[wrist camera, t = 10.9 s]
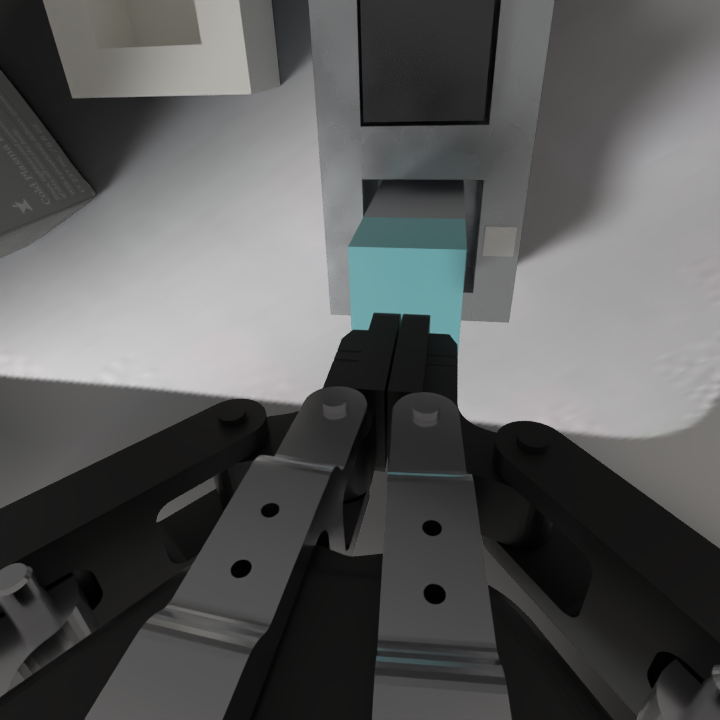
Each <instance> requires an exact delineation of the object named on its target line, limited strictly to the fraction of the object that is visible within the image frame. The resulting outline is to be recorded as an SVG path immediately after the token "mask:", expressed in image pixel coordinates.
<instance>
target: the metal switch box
mask: <svg viewBox="0 0 720 720" xmlns="http://www.w3.org/2000/svg"><path fill="white" fill-rule="evenodd" d="M554 1H555V0H308V2H309V16H310V30H311V44H312V58H313V72H314V86H315V100H316V114H317V128H318V142H319V156H320V170H321V184H322V198H323V211H324V225H325V239H326V253H327V267H328V281H329V295H330V309H331V314H333V315H351V304H350V281H349V259H348V246H349V244H350V242H351V240H352V238H353V236H354V234H355V232H356V230H357V228H358V226H359V225H360V223H361V221H362V219H363V217H364V215H365V213H366V211H367V209H368V207H369V205H370V203H371V202H372V200H373V198H374V196H375V194H376V192H377V190H378V188H379V186H380V184H381V182H382V180H383V179H420V180H464V201H465V222H466V243H467V253H466V265H465V276H464V288H463V299H462V311H461V320H465V321H487V322H509V318H510V311H511V304H512V297H513V290H514V283H515V276H516V269H517V262H518V255H519V248H520V240H521V233H522V226H523V219H524V212H525V205H526V198H527V191H528V184H529V177H530V170H531V163H532V156H533V149H534V142H535V135H536V128H537V120H538V113H539V106H540V99H541V92H542V85H543V78H544V71H545V64H546V57H547V50H548V43H549V36H550V29H551V22H552V15H553V8H554Z"/></svg>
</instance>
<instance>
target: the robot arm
mask: <svg viewBox="0 0 720 720" xmlns="http://www.w3.org/2000/svg"><path fill="white" fill-rule="evenodd" d="M457 357H458V345H457V343H456V342H455V341H454V340H453V338H452V337H451V336H450V334H435V333H430V315H421V314H403V316H402V317H401V314H397V313H375V312H374V313H373V316H372V320H371V323H370V326H369V329H368V330H354V329H353V330H352V331H351V332H350V333H348V334H347V335H346V336H345V337H344V338H342V340H341V343H340V345H339V348H338V352H337V353H336V356H335V358H334V361H333V363H332V366H331V369H330V371H329V374H328V376H327V379H326V381H325V384H324V387H323V388H322V389H320V390H317V391H315V392H313V393H312V394H311V395H309V396H308V397H307V398H306V400H305V401H304V403H303V405H302V407H301V409H300V410H299V411H297V412H294V413H289V414H283V415H276V416H269V417H267V416H266V411H265V409H264V407H263V406H262V405H261V404H259V403H258V402H256V401H253V400H249V399H232V400H227V401H224V402H221V403H219V404H216V405H214V406H212V407H210V408H208V409H206V410H204V411H202V412H200V413H198V414H196V415H193V416H191V417H189V418H187V419H185V420H183V421H181V422H179V423H177V424H175V425H173V426H171V427H169V428H167V429H165V430H163V431H160V432H158V433H156V434H154V435H152V436H150V437H148V438H146V439H144V440H142V441H140V442H138V443H136V444H133V445H131V446H129V447H127V448H125V449H123V450H121V451H119V452H117V453H115V454H113V455H111V456H108V457H107V458H104V459H102V460H100V461H98V462H96V463H94V464H92V465H90V466H88V467H86V468H84V469H82V470H79V471H77V472H75V473H73V474H71V475H69V476H67V477H65V478H63V479H61V480H59V481H57V482H55V483H53V484H50V485H48V486H46V487H44V488H42V489H40V490H38V491H36V492H34V493H32V494H30V495H28V496H26V497H24V498H21V499H19V500H17V501H15V502H13V503H11V504H9V505H7V506H5V507H3V508H1V509H0V720H613V719H612V717H611V716H610V715H609V714H608V712H607V711H606V710H605V709H604V708H603V706H602V705H601V704H600V703H599V701H598V700H597V699H596V698H595V697H594V695H593V694H592V693H591V692H590V691H589V689H588V688H587V687H586V686H585V684H584V683H583V682H582V681H581V680H580V678H579V677H578V676H577V675H576V673H575V672H574V671H573V670H572V669H571V668H570V666H569V665H568V664H567V663H566V661H565V660H564V659H563V658H562V657H561V655H560V654H559V653H558V652H557V650H556V649H555V648H554V647H553V645H552V644H551V643H550V642H549V641H548V639H547V638H546V637H545V636H544V635H543V633H542V632H541V631H540V630H539V629H538V627H537V626H536V625H535V624H534V623H533V621H532V620H531V619H530V618H529V617H528V616H527V615H526V614H525V613H524V612H523V611H522V610H521V609H520V608H519V607H518V606H517V605H516V604H515V603H513V602H512V601H511V600H510V599H508V598H507V597H506V596H505V595H503V594H502V593H500V592H499V591H497V590H496V589H494V588H492V587H491V586H489V585H488V583H487V575H486V568H485V560H484V553H483V545H482V541H483V544H484V546H485V548H486V549H487V550H488V552H489V553H490V554H491V555H492V556H493V557H494V558H495V559H496V561H497V562H498V563H499V564H500V565H501V566H502V567H503V568H504V569H505V571H506V572H507V573H508V574H509V575H510V576H511V577H512V578H513V579H514V580H515V582H516V583H517V584H518V585H519V586H520V587H521V588H522V589H523V590H524V592H525V593H526V594H527V595H528V596H529V597H530V598H531V599H532V600H533V601H534V603H535V604H537V606H538V607H539V608H540V609H541V610H542V611H543V613H544V614H545V615H546V616H547V617H548V618H549V619H550V620H551V621H552V622H553V623H554V625H555V626H556V627H557V628H558V629H559V630H560V631H561V632H562V634H563V635H564V636H565V637H566V638H567V639H568V640H569V641H570V642H571V643H572V645H573V646H574V647H575V648H576V649H577V650H578V651H579V652H580V653H581V655H582V656H584V658H585V659H586V660H587V661H588V662H589V663H590V664H591V665H592V667H593V668H594V669H595V670H596V671H597V672H598V673H599V674H600V676H601V677H602V678H603V679H604V680H605V681H606V682H607V683H608V684H609V685H610V687H611V688H612V689H613V690H614V691H615V692H616V693H617V694H618V695H619V696H620V698H621V699H622V700H623V701H624V702H625V703H626V704H627V705H628V706H629V707H630V709H631V710H632V711H633V712H634V713H635V714H636V715H637V716H638V718H637V720H720V549H719V548H718V547H717V546H715V545H714V544H712V543H711V542H710V541H708V540H707V539H706V538H704V537H703V536H701V535H700V534H699V533H697V532H696V531H695V530H693V529H692V528H690V527H689V526H688V525H686V524H685V523H684V522H682V521H681V520H679V519H678V518H676V517H675V516H674V515H673V514H671V513H670V512H668V511H667V510H666V509H664V508H663V507H662V506H660V505H659V504H657V503H656V502H655V501H653V500H652V499H650V498H649V497H648V496H646V495H645V494H644V493H642V492H641V491H639V490H638V489H637V488H635V487H634V486H633V485H631V484H630V483H628V482H627V481H626V480H624V479H623V478H622V477H620V476H619V475H617V474H616V473H614V472H613V471H612V470H611V469H609V468H608V467H606V466H605V465H604V464H602V463H601V462H600V461H598V460H597V459H595V458H594V457H592V456H591V455H590V454H588V453H587V452H586V451H584V450H583V449H582V448H580V447H579V446H577V445H576V444H575V443H573V442H572V441H571V440H569V439H568V438H566V437H565V436H564V435H562V434H561V433H560V432H558V431H557V430H555V429H553V428H551V427H549V426H547V425H544V424H541V423H537V422H532V421H516V422H512V423H509V424H506V425H504V426H503V427H501V428H500V429H499V430H498V432H497V433H495V432H492V431H489V430H485V429H483V428H480V427H478V426H476V425H474V424H472V423H470V422H469V421H468V420H466V419H465V418H464V417H463V416H462V414H461V413H460V411H459V409H458V404H457V364H458V359H457ZM387 457H388V477H387V493H386V494H387V495H386V510H385V527H384V528H385V529H384V544H383V554H375V555H366V556H354V557H353V553H354V550H355V546H356V543H357V539H358V536H359V532H360V529H361V526H362V523H363V519H364V516H365V512H366V509H367V505H368V502H369V498H370V485H371V483H372V478H373V473H374V471H384V472H385V469H386V463H387ZM212 477H213V478H214V482H215V485H216V489H215V490H213V491H211V492H210V493H208V494H206V495H204V496H203V497H201V498H199V499H198V500H196V501H194V502H192V503H191V504H189V505H187V506H186V507H184V508H182V509H181V510H179V511H177V512H175V513H174V514H172V515H170V516H169V517H167V518H165V519H164V520H162V521H160V522H157V523H156V519H157V515H158V513H159V512H160V510H161V509H162V508H163V506H165V505H166V504H167V503H168V502H170V501H171V500H173V499H175V498H177V497H178V496H180V495H182V494H184V493H185V492H187V491H189V490H191V489H192V488H194V487H196V486H198V485H199V484H201V483H203V482H205V481H206V480H208V479H210V478H212ZM481 536H482V538H481Z"/></svg>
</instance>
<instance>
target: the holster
mask: <svg viewBox="0 0 720 720" xmlns="http://www.w3.org/2000/svg"><path fill="white" fill-rule="evenodd" d="M43 3H44V6H45V9H46V13H47V16H48V19H49V23H50V26H51V29H52V32H53V36H54V39H55V42H56V46H57V49H58V52H59V56H60V59H61V62H62V66H63V69H64V72H65V76H66V79H67V82H68V86H69V89H70V92H71V95H72V98H107V97H150V96H192V95H234V94H254V93H257V92H261V91H264V90H268V89H272V88H275V87H279V86H280V78H279V68H278V58H277V49H276V39H275V29H274V20H273V10H272V0H43Z"/></svg>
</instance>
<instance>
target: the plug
mask: <svg viewBox="0 0 720 720" xmlns="http://www.w3.org/2000/svg"><path fill="white" fill-rule="evenodd" d="M466 253H467V243H466V222H465V201H464V180H420V179H383V180H382V182H381V184H380V186H379V188H378V190H377V192H376V194H375V196H374V198H373V200H372V202H371V203H370V205H369V207H368V209H367V211H366V213H365V215H364V217H363V219H362V221H361V223H360V225H359V226H358V228H357V230H356V232H355V234H354V236H353V238H352V240H351V242H350V244H349V246H348V259H349V281H350V304H351V326H352V330H353V329H354V330H368V329H369V326H370V323H371V320H372V316H373V313H374V312H375V313H397V314H401V317H402V316H403V314H421V315H430V333H435V334H450V336H451V337H452V338H453V340H454V341H455V342H456V343H457V345H458V346H459V334H460V323H461V311H462V299H463V288H464V276H465V265H466Z"/></svg>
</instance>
